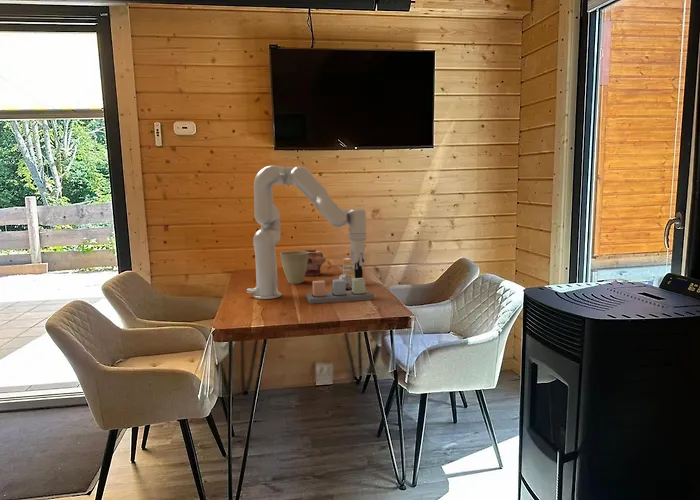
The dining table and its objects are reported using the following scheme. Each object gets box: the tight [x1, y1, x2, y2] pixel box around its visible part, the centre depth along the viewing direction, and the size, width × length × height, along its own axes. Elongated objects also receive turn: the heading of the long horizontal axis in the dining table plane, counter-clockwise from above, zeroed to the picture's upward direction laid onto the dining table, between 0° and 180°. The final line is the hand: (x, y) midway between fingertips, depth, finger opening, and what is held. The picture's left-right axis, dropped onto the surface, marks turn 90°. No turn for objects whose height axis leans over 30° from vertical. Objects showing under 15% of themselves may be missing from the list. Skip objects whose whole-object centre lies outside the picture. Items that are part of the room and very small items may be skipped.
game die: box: [338, 272, 353, 290], centre depth 239 cm, size 9×8×10 cm
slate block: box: [331, 278, 347, 295], centre depth 219 cm, size 5×5×6 cm
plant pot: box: [279, 250, 309, 285], centre depth 257 cm, size 15×15×16 cm
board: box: [305, 289, 374, 305], centre depth 220 cm, size 28×12×2 cm, turn 103°
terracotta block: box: [312, 279, 327, 296], centre depth 217 cm, size 5×5×6 cm
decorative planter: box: [304, 249, 327, 276], centre depth 280 cm, size 20×12×14 cm, turn 91°
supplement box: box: [342, 257, 355, 278], centre depth 252 cm, size 8×5×13 cm, turn 68°
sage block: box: [351, 277, 366, 294], centre depth 221 cm, size 5×5×6 cm
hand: (358, 277), depth 221 cm, fingers closed
